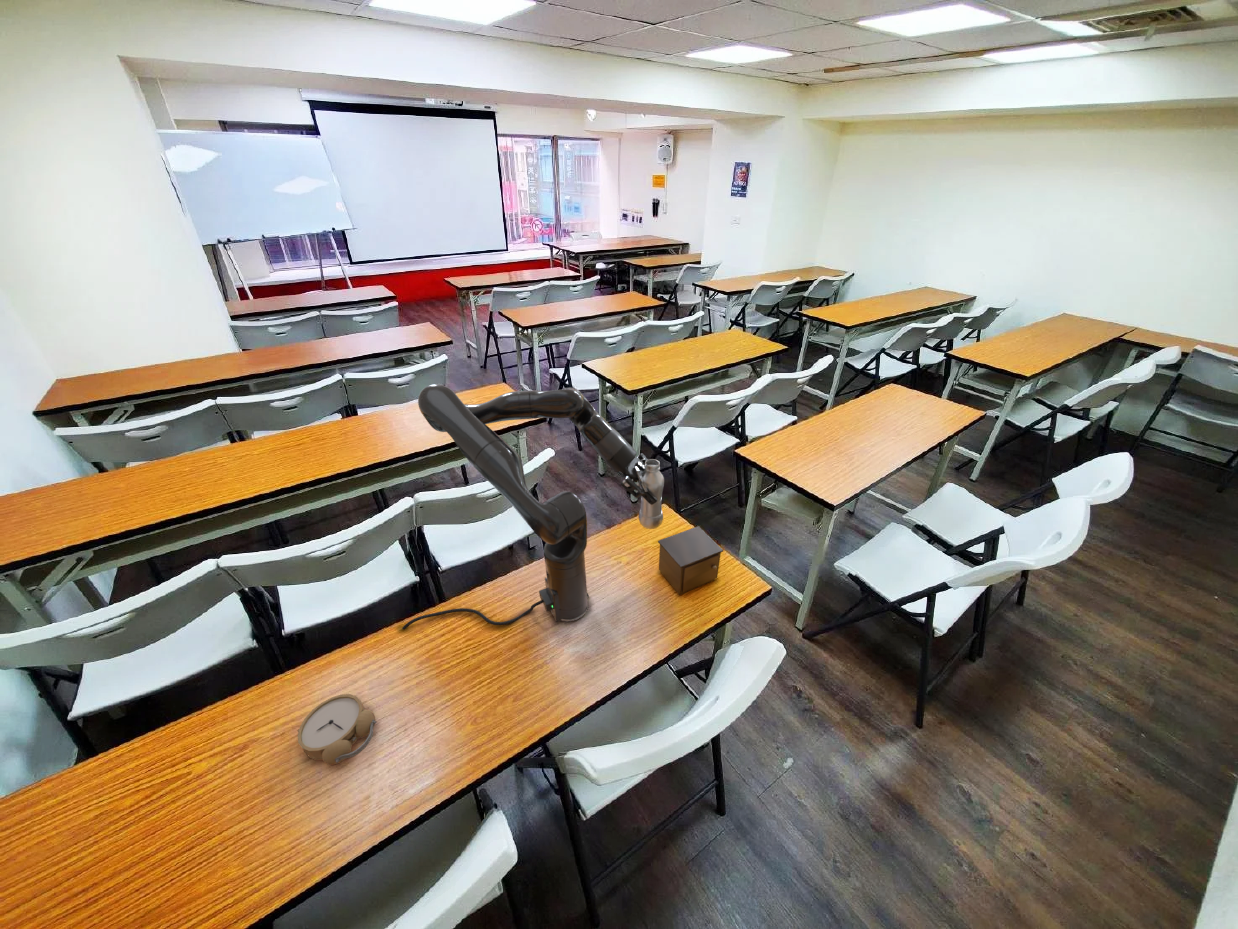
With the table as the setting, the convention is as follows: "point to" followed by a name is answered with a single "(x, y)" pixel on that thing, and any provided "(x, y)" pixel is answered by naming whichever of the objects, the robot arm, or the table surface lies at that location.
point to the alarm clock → (336, 729)
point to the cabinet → (689, 559)
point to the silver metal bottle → (654, 483)
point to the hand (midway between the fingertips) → (657, 495)
